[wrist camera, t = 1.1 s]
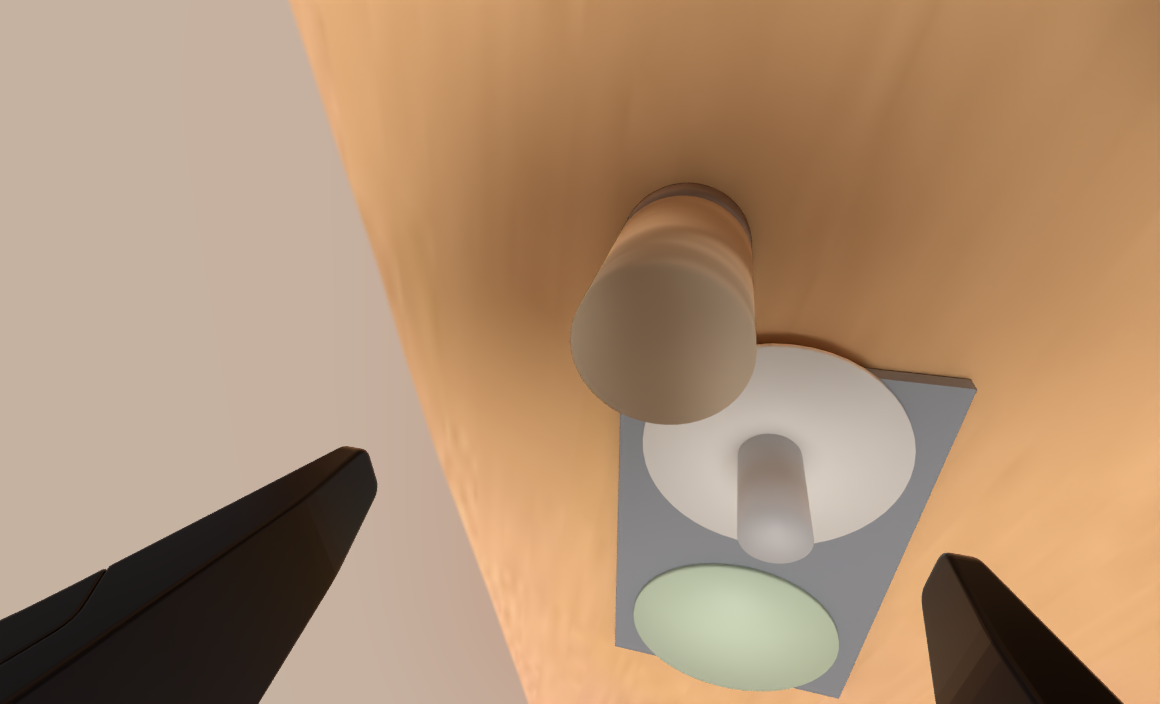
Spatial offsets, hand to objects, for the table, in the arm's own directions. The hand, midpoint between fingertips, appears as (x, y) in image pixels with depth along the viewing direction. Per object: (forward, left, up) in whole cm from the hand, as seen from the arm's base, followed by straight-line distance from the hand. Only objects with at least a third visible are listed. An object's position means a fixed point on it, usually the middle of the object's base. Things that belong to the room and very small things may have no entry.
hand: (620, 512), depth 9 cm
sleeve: (0, 0, -12) cm, 12 cm away
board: (-4, +14, -12) cm, 19 cm away
